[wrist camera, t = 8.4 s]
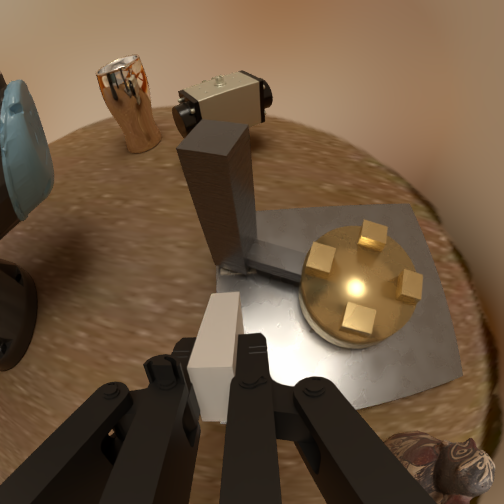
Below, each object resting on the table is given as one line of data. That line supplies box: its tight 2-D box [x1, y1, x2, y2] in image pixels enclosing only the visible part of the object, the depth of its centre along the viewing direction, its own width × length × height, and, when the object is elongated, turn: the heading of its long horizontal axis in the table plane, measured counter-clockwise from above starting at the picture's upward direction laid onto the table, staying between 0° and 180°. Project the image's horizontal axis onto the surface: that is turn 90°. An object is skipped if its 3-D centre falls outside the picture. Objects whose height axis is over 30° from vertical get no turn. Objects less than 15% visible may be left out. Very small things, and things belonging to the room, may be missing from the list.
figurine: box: [384, 431, 495, 504], centre depth 11 cm, size 7×7×12 cm
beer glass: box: [96, 54, 162, 153], centre depth 34 cm, size 7×7×15 cm
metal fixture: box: [176, 119, 423, 349], centre depth 18 cm, size 18×10×13 cm, turn 69°
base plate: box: [216, 204, 463, 424], centre depth 24 cm, size 22×20×2 cm
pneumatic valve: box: [172, 71, 273, 139], centre depth 32 cm, size 6×12×12 cm, turn 123°
